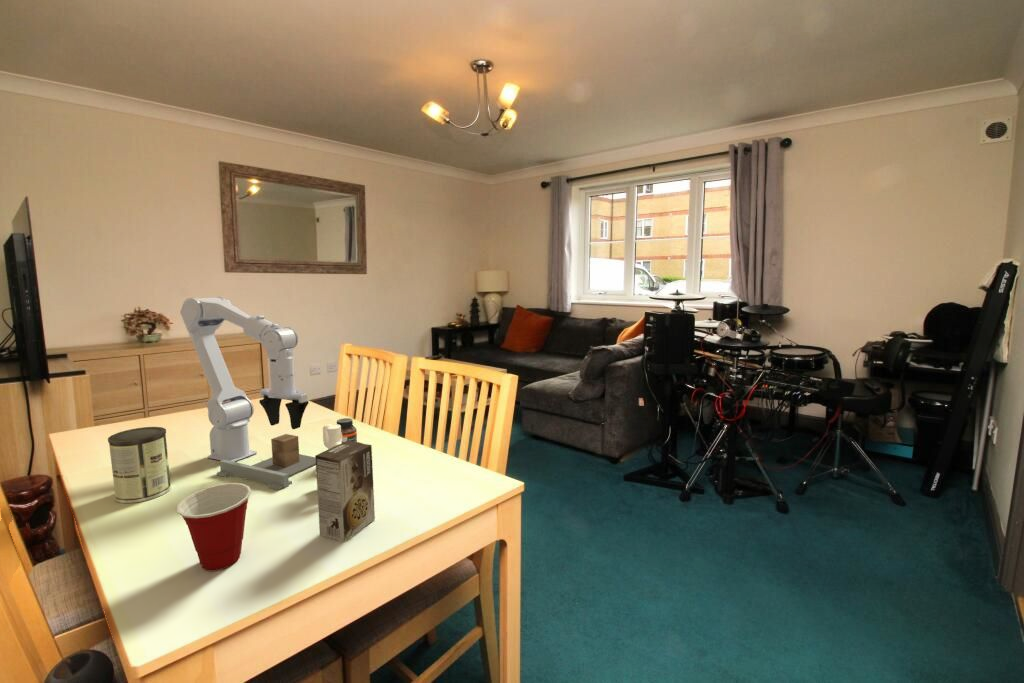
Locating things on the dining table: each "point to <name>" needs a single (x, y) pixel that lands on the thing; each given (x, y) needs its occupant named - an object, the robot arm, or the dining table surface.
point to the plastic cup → (216, 523)
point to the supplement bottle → (347, 430)
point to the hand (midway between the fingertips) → (285, 426)
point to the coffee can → (139, 464)
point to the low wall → (254, 474)
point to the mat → (291, 470)
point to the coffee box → (345, 489)
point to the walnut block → (285, 450)
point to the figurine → (332, 435)
